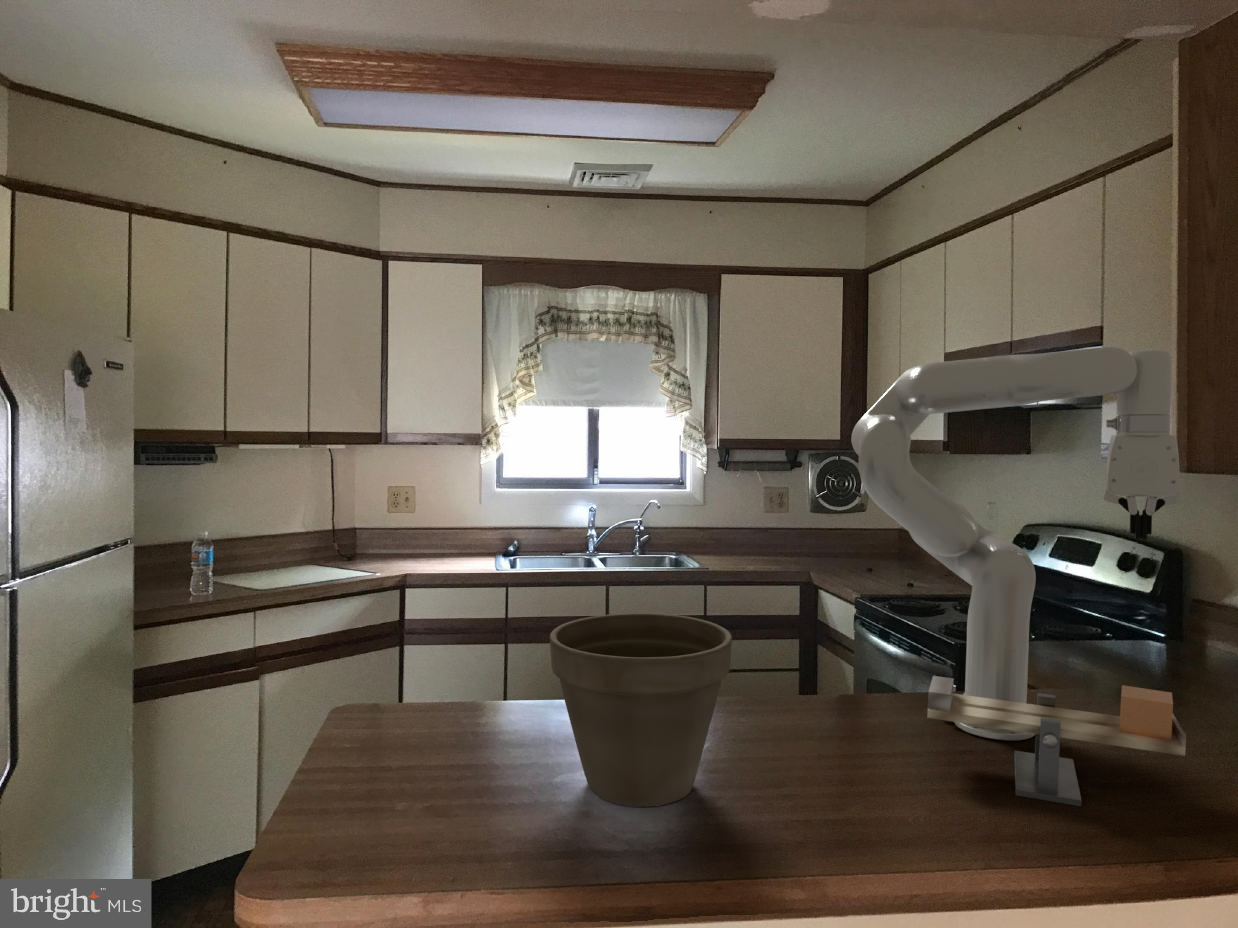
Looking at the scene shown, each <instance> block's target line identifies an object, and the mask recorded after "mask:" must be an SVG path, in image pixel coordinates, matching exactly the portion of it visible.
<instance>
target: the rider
mask: <svg viewBox="0 0 1238 928" xmlns="http://www.w3.org/2000/svg"><path fill="white" fill-rule="evenodd" d="M1119 712H1120V713H1119V716H1120V728H1119V732H1122V733H1128V734H1133V735H1139V736H1145V737H1150V738H1156V739H1162V740H1168V741H1171V734H1172V715H1173V714H1174V701H1173V692H1170V691H1163V690H1155V689H1150V688H1144V687H1143V688H1141V687H1136V686H1129V685H1123V684H1122V685H1121V695H1120V711H1119Z"/></svg>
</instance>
